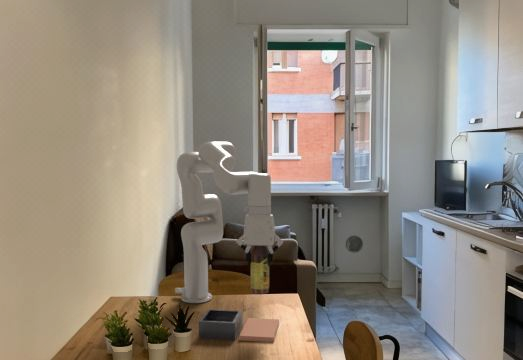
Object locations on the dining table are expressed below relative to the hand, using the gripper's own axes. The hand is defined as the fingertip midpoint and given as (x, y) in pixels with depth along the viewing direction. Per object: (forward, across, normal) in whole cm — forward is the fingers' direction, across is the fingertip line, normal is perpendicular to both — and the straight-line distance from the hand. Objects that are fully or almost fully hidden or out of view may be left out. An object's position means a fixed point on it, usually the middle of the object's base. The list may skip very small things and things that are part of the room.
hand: (259, 263), depth 159 cm
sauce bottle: (+10, 0, 0) cm, 10 cm away
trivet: (+23, 0, 0) cm, 23 cm away
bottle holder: (+23, -13, -2) cm, 26 cm away
